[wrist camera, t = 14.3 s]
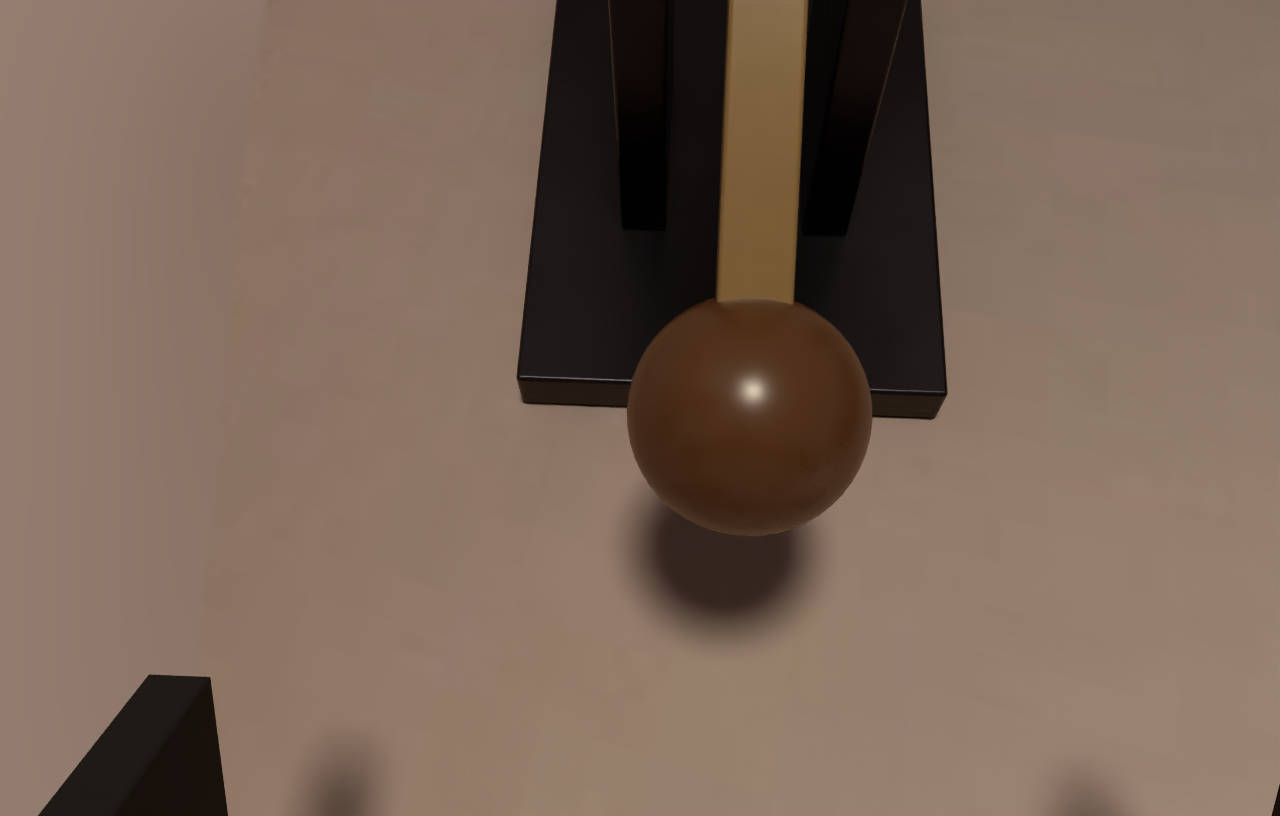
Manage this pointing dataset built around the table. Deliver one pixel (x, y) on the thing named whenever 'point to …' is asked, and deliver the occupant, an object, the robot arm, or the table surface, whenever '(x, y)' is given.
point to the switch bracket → (690, 186)
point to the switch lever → (753, 325)
